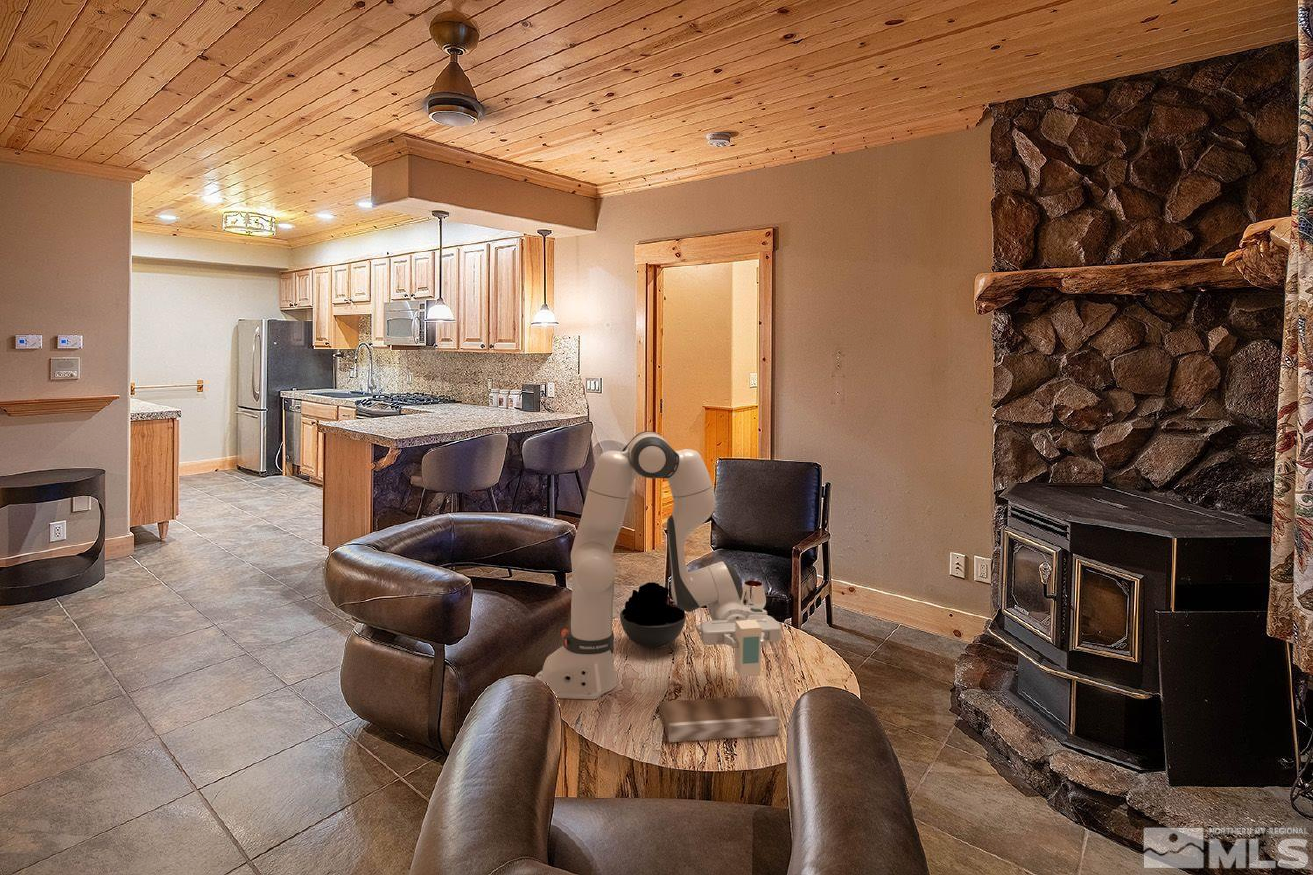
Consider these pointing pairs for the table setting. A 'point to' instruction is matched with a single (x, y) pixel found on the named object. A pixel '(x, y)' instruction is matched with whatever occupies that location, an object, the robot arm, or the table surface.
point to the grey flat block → (717, 718)
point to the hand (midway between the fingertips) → (748, 644)
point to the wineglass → (753, 595)
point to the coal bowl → (651, 617)
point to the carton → (748, 648)
